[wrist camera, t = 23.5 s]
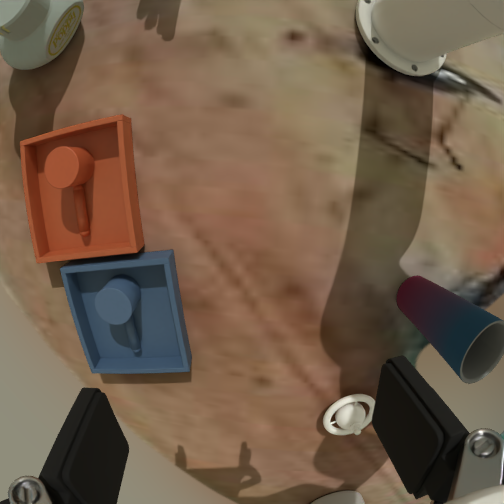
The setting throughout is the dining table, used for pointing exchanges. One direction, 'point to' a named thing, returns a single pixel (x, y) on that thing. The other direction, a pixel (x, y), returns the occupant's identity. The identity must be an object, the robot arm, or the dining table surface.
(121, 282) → the blue handled cylinder
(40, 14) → the air freshener
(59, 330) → the dining table surface
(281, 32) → the dining table surface
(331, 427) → the ring around a ball
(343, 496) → the cylinder vase
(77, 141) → the terracotta bin
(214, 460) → the dining table surface
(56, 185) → the orange toy mallet
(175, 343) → the slate bin
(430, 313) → the cup
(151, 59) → the dining table surface
